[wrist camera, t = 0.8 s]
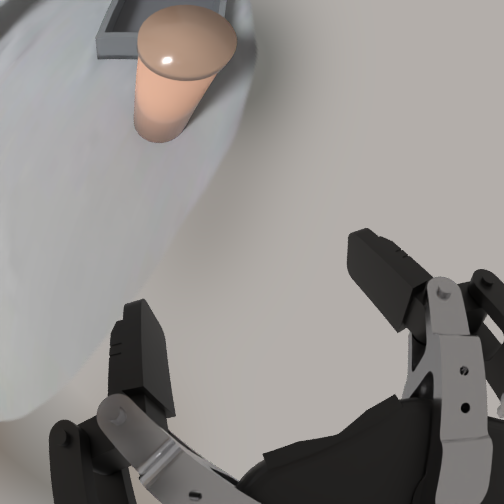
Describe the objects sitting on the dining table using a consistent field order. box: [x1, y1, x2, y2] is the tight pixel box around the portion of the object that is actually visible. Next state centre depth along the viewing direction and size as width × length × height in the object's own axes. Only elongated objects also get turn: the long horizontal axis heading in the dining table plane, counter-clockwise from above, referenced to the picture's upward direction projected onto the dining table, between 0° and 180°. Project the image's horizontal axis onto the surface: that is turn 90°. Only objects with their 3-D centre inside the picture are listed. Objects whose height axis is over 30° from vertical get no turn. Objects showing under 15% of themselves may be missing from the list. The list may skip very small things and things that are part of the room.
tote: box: [96, 0, 227, 59], centre depth 22 cm, size 14×14×4 cm
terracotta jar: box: [134, 5, 237, 143], centre depth 19 cm, size 6×6×15 cm
